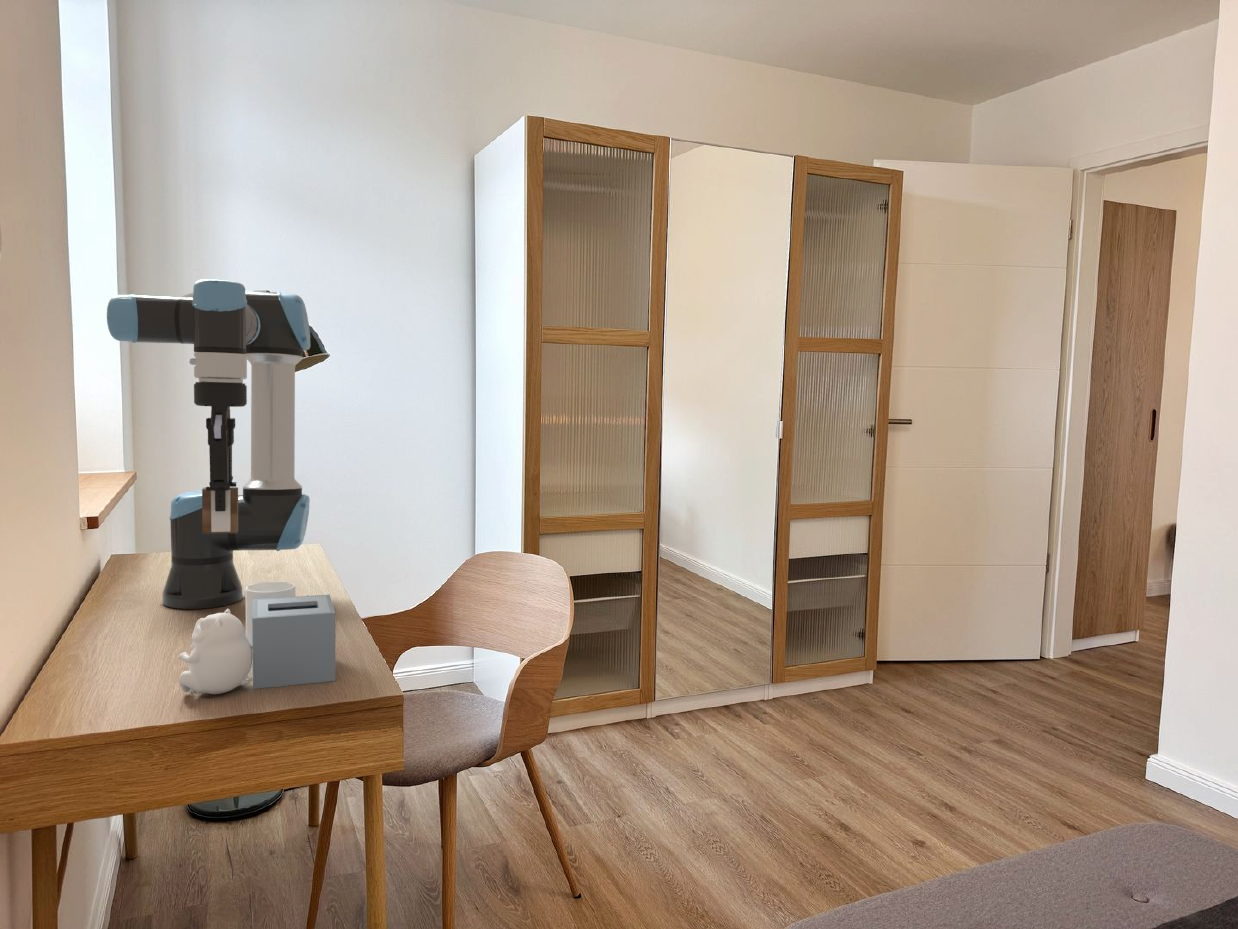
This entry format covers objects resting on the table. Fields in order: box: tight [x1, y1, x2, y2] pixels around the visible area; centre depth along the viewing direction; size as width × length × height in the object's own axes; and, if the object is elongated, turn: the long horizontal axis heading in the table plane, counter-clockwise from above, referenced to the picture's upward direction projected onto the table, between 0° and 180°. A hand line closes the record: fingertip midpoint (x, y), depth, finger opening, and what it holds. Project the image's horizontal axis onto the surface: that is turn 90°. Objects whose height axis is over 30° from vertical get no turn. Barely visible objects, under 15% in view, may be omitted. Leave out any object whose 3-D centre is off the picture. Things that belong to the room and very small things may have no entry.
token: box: [201, 486, 239, 534], centre depth 138 cm, size 2×5×7 cm, turn 110°
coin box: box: [252, 594, 336, 690], centre depth 140 cm, size 12×12×11 cm
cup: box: [244, 580, 296, 648], centre depth 157 cm, size 8×12×10 cm
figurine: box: [177, 608, 253, 695], centre depth 131 cm, size 10×10×12 cm
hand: (221, 529), depth 138 cm, fingers closed on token, 2 cm apart
